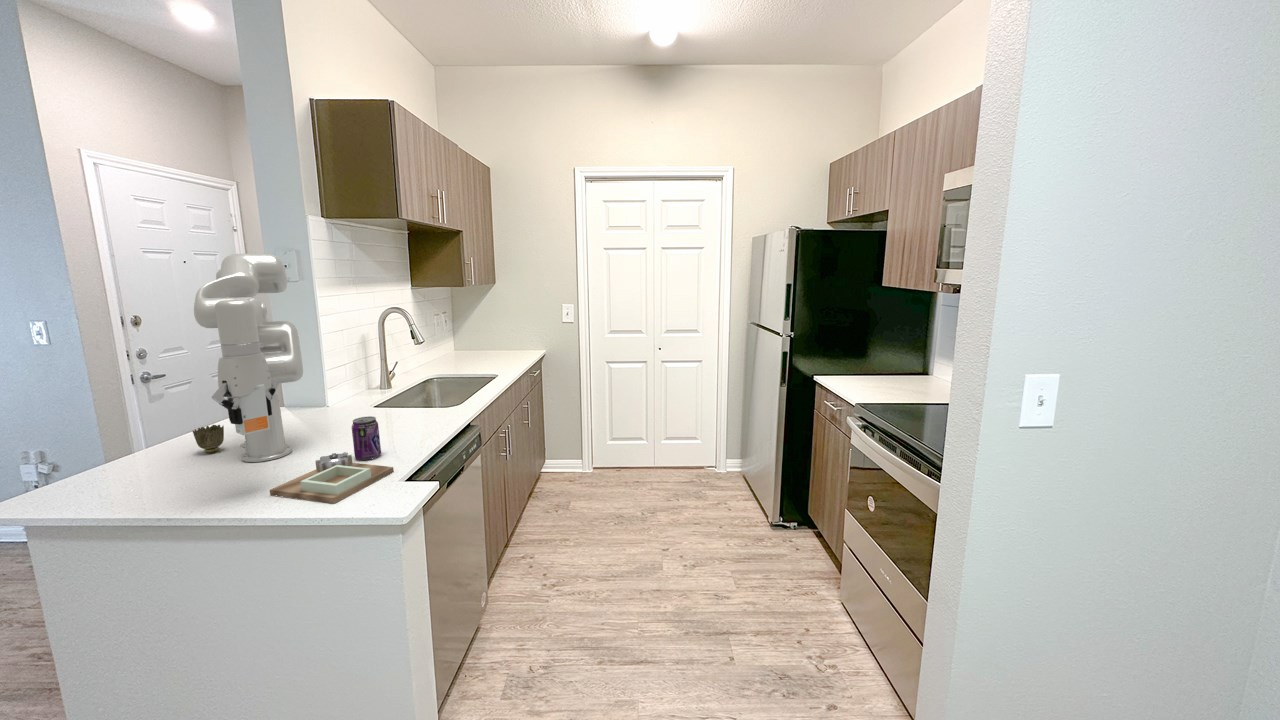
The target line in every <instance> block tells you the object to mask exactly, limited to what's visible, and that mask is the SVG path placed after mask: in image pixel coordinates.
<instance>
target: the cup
mask: <svg viewBox="0 0 1280 720" xmlns="http://www.w3.org/2000/svg"><path fill="white" fill-rule="evenodd" d="M224 429H225V427H224V424H223V425H222V426H221V425H220V424H217V425H216V424H212V425H211V426H209V425H206V427H203V426H201V427H198V428H197V429H196V428H195V429H194V430H192V434H193V437H194V439H195V442H196V444H197V446H198V447H199V448H201V450H202V449H203V451H204V453H205V454H215V453H217V452H219V451H220V449H221V448H220V446H221V445H222V444H223V442H224V440H225V439H224V438H225V437H224V436H225V431H224Z"/></svg>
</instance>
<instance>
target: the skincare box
mask: <svg viewBox="0 0 1280 720" xmlns="http://www.w3.org/2000/svg"><path fill="white" fill-rule="evenodd" d="M233 400H234V399H233ZM232 403H233V402H232ZM238 408H240V409H241V413H242V420H243V423H242V424H240V425H239V424H234V425H235V426H234V427H235V432H236V433H237V434H239V435H242V436H245V435H246V434H251V433H255V432H260V431H264V430H269V429H270V426H269V418H268V410H267V402H266V394H265V386H264V384H262V385H258V386H256V387H255V388H254V390H253V392H252V394H250V395H247V396H244V397H241V399H240V402H239V405H238Z"/></svg>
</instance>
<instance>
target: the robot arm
mask: <svg viewBox="0 0 1280 720" xmlns="http://www.w3.org/2000/svg"><path fill="white" fill-rule="evenodd" d="M220 265H221V266H220V269H219V270H217V272H216V275H215V279H214V280H213V281H210V282H208V283H206V284H204V285H203V286H200V288H199V289H198V290H197V292H196V294H195V298H194V303H193V304H194V305H193V315H194V318H195V321H196V323H197V324H198V325H199V326H201V327H203V328H205V329H218V330H217V331H218V336H219V344H220V349H221V355H222V357H219V358H218V364H217V383H218V389H217V390H216V391H215V392H214V393H213V395H212V396H211V399H212V400H213V401H214V402H216V403H218V404H219V405H220V406H222V407H224V409H227V413H228V419H229V422H230V424H231V425H235V424H239V425H240V424H242V423H243V420H242V413H241V409H240V408H238V405H239V402H240V399H241V397H244V396H247V395H250V394H252V392H253V390H254V388H255V387H256V386H258V385H262V384H264V386H265V394H266V402H267V410H268V418H269V426H270V429H269V430H264V431H260V432H255V433H251V434H246V435H244V438H245V441H244V443H243V442H242V443H241V444H240V445H239V446H240V448H241V449H244V450H245V452H244V453H243V454H242V455H241V460H242V461H243V462H246V463H261V462H267V461H271V460H272V461H273V460H276V459H280V458H283V457H285V456H287V455H290V454H291V453H292V452H293V447H292V445H288V444H286V441H285V440H286V439H285V438H286V437H285V433H284V427H283V426H284V425H283V419H282V410H281V405H280V399H279V397H278V394H276V390H277V389H278V387H279V385H280V384H286V383H294V382H297V381H299V380H302V377H303V374H304V367H303V359H302V351H301V345H300V337H299V333H298V330H297V327H296V325H295V324H294V323H292V322H290V321H288V320H287V321H286V320H279V321H278V320H277V321H275V320H274V321H268V309H267V306H266V304H265V303H264V302H263V301H262V300H261V299H259V298H256V297H255V296H256V295H257V294H279V293H283V292H285V290H286V289H287V287H288V286H287V285H288V278H287V273H286V269H285V266H284V263H283V262H282V260H281V259H280V258H279V257H278V256H277V255H275V254H272V253H271V254H270V253H233V254H230V255H227V256H226V257H224V258H223V260H222V261H221V264H220ZM233 399H234V400H233ZM232 402H233V403H232Z"/></svg>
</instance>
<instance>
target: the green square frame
mask: <svg viewBox="0 0 1280 720" xmlns="http://www.w3.org/2000/svg"><path fill="white" fill-rule="evenodd" d="M338 475H339V476H347V477H348V478H346V479H344V480H342V481H340V482H338V483H336V484H335V483H327V482H325V481H327V480H329V479H331V478H333V477H335V476H338ZM369 478H371V470H370V469H369V468H360V467H351V466H342V465H335V466H333V467H331V468H329V469H327V470H324V471H322V472H320V473H318V474H315V475H313V476H311V477H309V478H307V479H304V480H302V481H300V483H301V490H302V491H308V492H316V493H324V494H332V495H339V494H340V493H342V492H344V491H346V490H348V489H350V488H352V487H354V486H356V485H358V484H360V483H362V482H364V481H365V480H367V479H369Z"/></svg>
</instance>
